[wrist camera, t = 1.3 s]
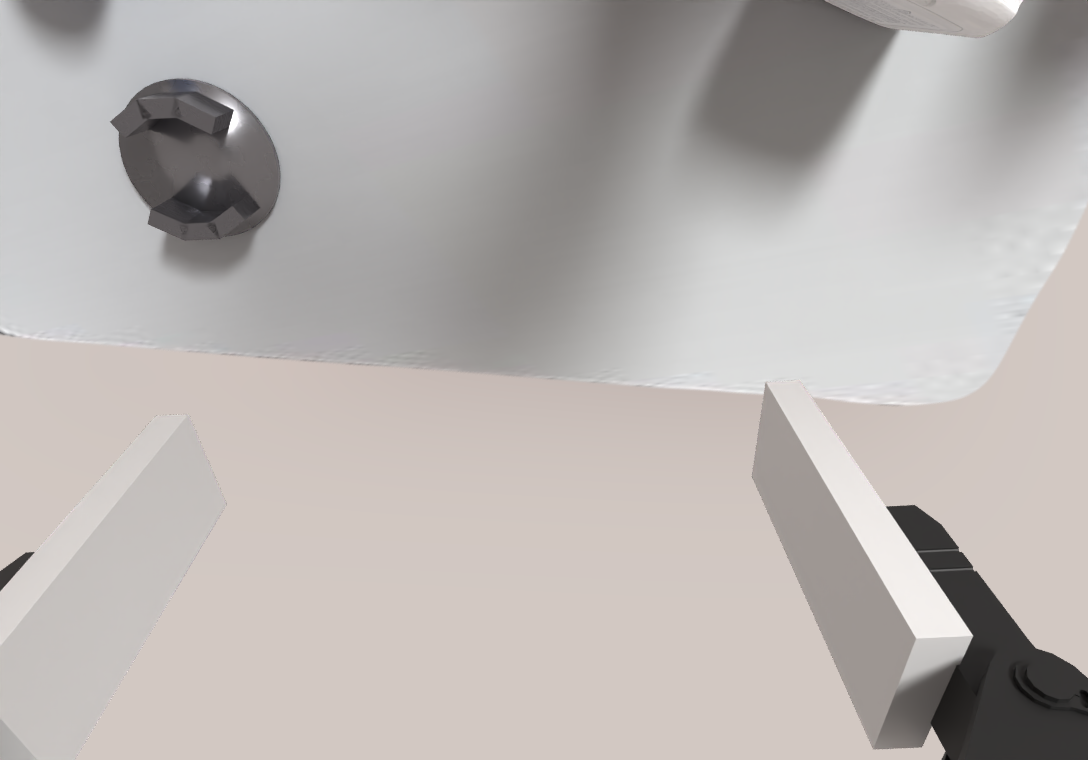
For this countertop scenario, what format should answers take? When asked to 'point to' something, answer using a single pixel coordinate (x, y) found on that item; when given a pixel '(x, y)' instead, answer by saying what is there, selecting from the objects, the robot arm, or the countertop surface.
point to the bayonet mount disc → (198, 159)
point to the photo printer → (935, 14)
